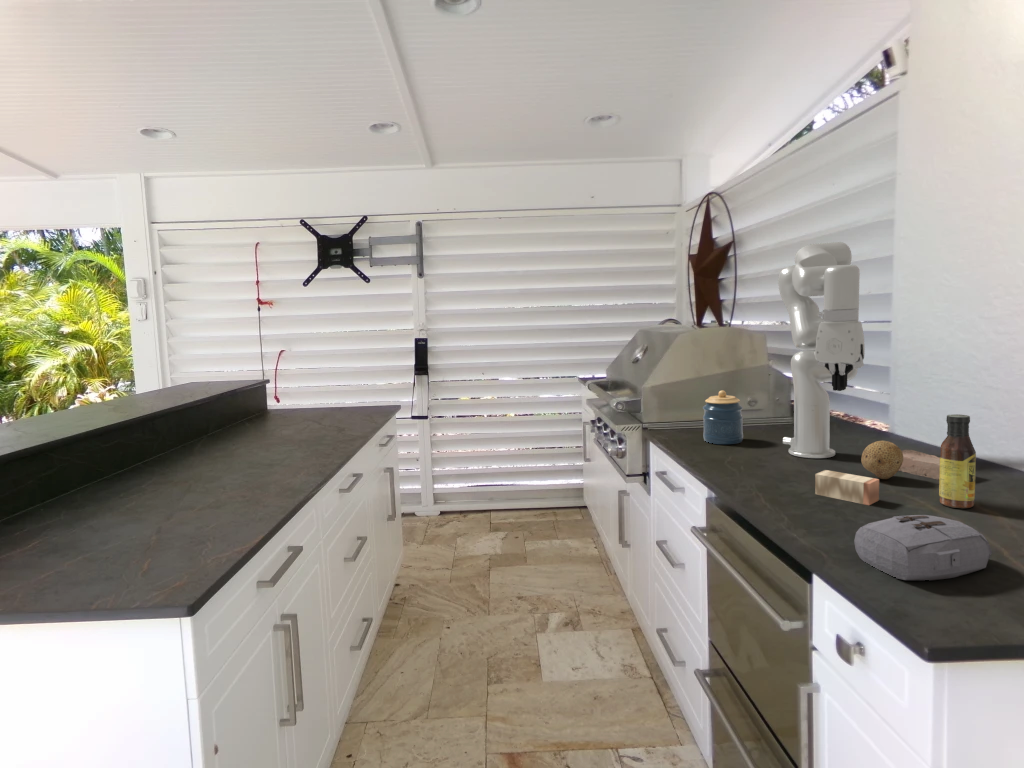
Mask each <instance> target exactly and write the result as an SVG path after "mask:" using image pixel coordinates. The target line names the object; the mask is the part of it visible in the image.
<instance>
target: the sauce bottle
mask: <svg viewBox="0 0 1024 768" xmlns="http://www.w3.org/2000/svg"><path fill="white" fill-rule="evenodd" d="M970 423H971V416H970V415H965V414H947V415H946V424H947V431H946V437H945V438H944V440H943V441H942V442H941V444H940V447H939V448H940V457H939V458H940V473H939V480H938V482H939V484H938V486H939V487H938V490H939V492H938V496H939V503H940V504H941V505H943V506H945V507H947V508H955V509H970V508H972V507H974V505H975V498H976V497H975V496H976V470H977V469H976V465H977V464H976V463H977V462H976V460H977V458H976V456H977V452H976V450H975V448H974V444H973V442H972V440H971V438H970V433H969V432H970V431H969V430H970V429H969V428H970Z"/></svg>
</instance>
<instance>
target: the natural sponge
mask: <svg viewBox="0 0 1024 768" xmlns="http://www.w3.org/2000/svg"><path fill="white" fill-rule="evenodd" d="M860 459H861V460H860V461H861V465H862V466H863V468H864V469H865V470H867V472H870V473H872V474H873V475H874V476H875V477H877V479H880V480H888V479H891V478H892V477H894V476H895V475H896V474H897V473H898V472H899V471H898V470H899V469H900V467H901V465H902V463H903V453H902V449H901V448H900V447H899V446H898V445H896V444H895V443H893V442H891V441H888V440H887V441H886V440H877V441H874V442H872V443H870V444H868V445H867V446H866V447H865V448H864V450H862V454H861V458H860Z"/></svg>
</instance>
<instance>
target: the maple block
mask: <svg viewBox="0 0 1024 768" xmlns="http://www.w3.org/2000/svg"><path fill="white" fill-rule="evenodd" d="M814 476H815V477H814V479H815V481H814V483H815V484H814V485H815V486H814V489H815V490H814V495H818V496H822V497H827V498H832V499H837V500H842V501H847V502H850V503H851V502H853V503H856V504H860V505H866V506H870V505H873V504H874V503H876V502H878V501H880V478H874V477H869V476H863V475H859V474H858V475H856V474H853V473H852V474H851V473H845V472H840V471H835V470H828V469H823V470H822V471H820V472H819V471H818V472H817V473H815V474H814Z"/></svg>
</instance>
